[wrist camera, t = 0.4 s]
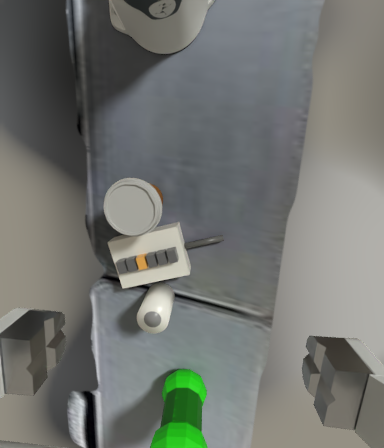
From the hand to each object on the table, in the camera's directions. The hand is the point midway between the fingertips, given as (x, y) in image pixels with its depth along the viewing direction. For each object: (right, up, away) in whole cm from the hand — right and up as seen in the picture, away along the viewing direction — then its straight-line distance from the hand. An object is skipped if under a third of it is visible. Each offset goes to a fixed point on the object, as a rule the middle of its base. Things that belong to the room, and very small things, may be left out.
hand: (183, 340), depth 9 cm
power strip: (-4, -1, +46) cm, 46 cm away
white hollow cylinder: (-6, -12, +48) cm, 50 cm away
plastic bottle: (-1, -32, +53) cm, 62 cm away
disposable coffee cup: (-9, +9, +44) cm, 46 cm away
